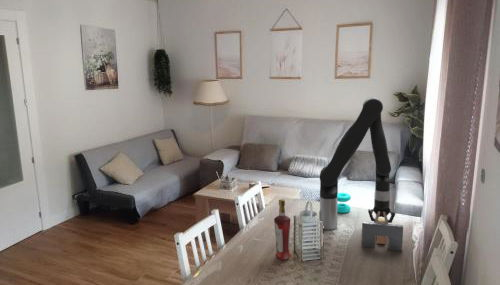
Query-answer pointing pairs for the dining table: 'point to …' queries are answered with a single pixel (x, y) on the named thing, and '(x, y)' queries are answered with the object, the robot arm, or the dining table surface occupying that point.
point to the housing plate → (382, 234)
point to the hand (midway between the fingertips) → (381, 228)
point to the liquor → (282, 233)
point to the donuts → (341, 206)
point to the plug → (381, 238)
